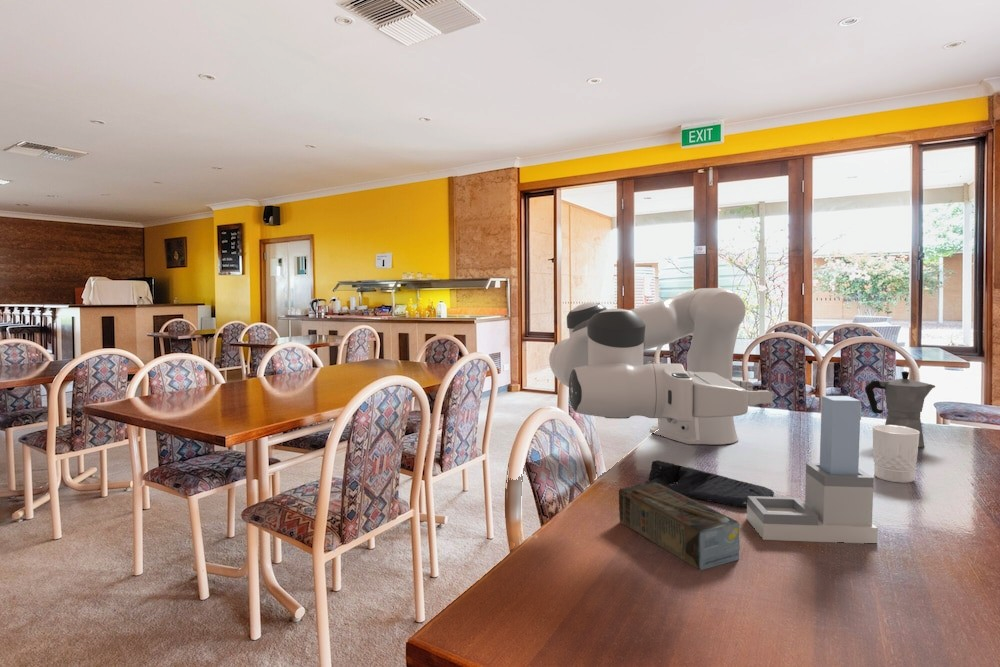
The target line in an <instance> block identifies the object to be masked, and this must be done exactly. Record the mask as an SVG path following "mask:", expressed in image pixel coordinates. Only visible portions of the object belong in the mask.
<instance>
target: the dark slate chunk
mask: <svg viewBox="0 0 1000 667" xmlns="http://www.w3.org/2000/svg"><path fill="white" fill-rule="evenodd" d="M651 482H656V483H658V484H661V485H663V486H665V487H667V488H669V489H671V490H673V491H675V492H678V493H680V494H682V495H684V496H686V497H691V498H695V499H699V500H705V499H706V500H705V501H707V500H709V501H708V502H713V501H714V502H713V503H718V502H719V504H721V503H722V504H723V505H728V504H729V505H728V506H736V507H747V500H748V496H764V497H772V496H773V497H774V494H775V492H774V491H773V490H772V489H771V488H768V487H766V486H763V485H759V484H754V483H750V482H746V481H742V480H738V479H735V478H730V477H728V476H724V475H719V474H716V473H712V472H708V471H704V470H701V469H696V468H693V467H689V466H684V465H679V464H675V463H671V462H667V461H663V460H658V459H656V460H653V461H652V462H651V466H650V472H649V477H648V481H647V482H645V483H644V484H648V483H651ZM674 482H677V483H674ZM670 483H671V484H670ZM672 483H673V484H672ZM710 500H711V501H710Z"/></svg>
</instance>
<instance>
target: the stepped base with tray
mask: <svg viewBox="0 0 1000 667" xmlns="http://www.w3.org/2000/svg"><path fill="white" fill-rule="evenodd" d="M874 481H875V480H874V477H873V476H871V475H870V474H868V473H866V472H865V471H864V470H862V469H860V468H859V467H858V475H829V474H827V473H826V472H824V471H823V470H821V469H820V462H819V463H817V462H815V463H814V462H811V463H810V462H809V463H808V462H807V463H805V494H804V502H803V501H802V500H801V499H800V498H799V497H793V496H792V497H791V496H773V497H764V496H748V500H747V506H746V520H747V521H748V523H749V524H750V525H751V526H752V527H753V528H755V529H754V530H755V531H756V533H757V534H758V533H759V534H758V535H759V536H760V538H761V537H762V538H761V539H762V540H764V541H787V542H791V541H792V542H811V543H812V542H813V543H814V542H815V543H816V542H817V543H837V542H844V543H843V544H864V543H877V544H878V538H879V537H878V532H879V530H878V529H879V528H878V526H876V525H875V524H873V507H874V504H873V501H874Z"/></svg>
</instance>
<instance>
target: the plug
mask: <svg viewBox="0 0 1000 667" xmlns="http://www.w3.org/2000/svg"><path fill="white" fill-rule="evenodd" d="M861 402H862V400H860V399H857V398H854V397H852V396H850V395H821V406H820V407H821V411H820V415H821V416H820V442H819V443H820V444H819V445H820V446H819V447H820V450H819V463H820V469H821V470H823V471H824V472H826V473H827V474H829V475H858V468H859V461H860V435H861V434H860V432H861V431H860V430H861V420H862V404H861Z"/></svg>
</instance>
